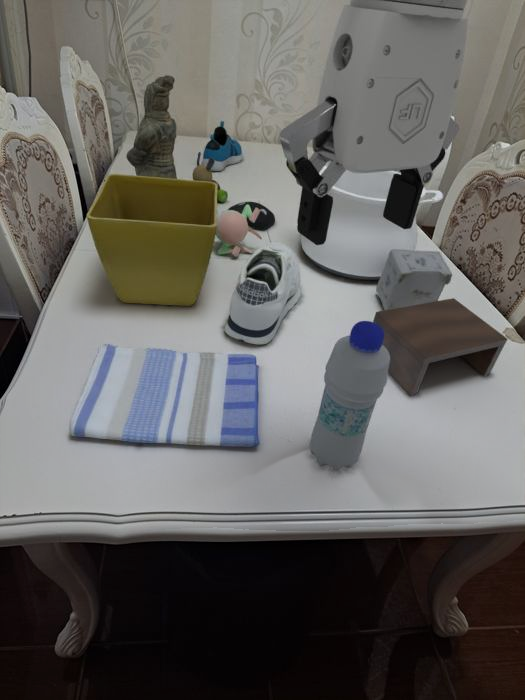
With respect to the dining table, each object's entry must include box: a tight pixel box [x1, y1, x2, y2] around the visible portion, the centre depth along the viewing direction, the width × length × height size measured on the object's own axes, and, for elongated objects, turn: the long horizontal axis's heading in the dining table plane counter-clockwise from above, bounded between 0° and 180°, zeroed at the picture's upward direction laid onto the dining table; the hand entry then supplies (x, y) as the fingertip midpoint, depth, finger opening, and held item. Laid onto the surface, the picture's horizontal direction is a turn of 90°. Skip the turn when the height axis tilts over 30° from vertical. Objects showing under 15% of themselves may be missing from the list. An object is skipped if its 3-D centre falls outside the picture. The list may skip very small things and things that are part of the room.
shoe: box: [201, 120, 243, 172], centre depth 148 cm, size 9×23×12 cm, turn 164°
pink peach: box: [215, 204, 262, 258], centre depth 102 cm, size 12×10×9 cm
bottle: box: [309, 320, 390, 472], centre depth 55 cm, size 7×7×20 cm
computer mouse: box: [227, 201, 276, 231], centre depth 116 cm, size 8×12×4 cm, turn 62°
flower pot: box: [86, 173, 218, 307], centre depth 84 cm, size 19×19×17 cm
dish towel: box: [68, 343, 260, 447], centre depth 65 cm, size 17×24×3 cm
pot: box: [299, 164, 444, 281], centre depth 101 cm, size 28×24×17 cm
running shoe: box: [224, 241, 302, 345], centre depth 85 cm, size 11×29×12 cm, turn 170°
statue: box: [125, 74, 178, 179], centre depth 102 cm, size 11×9×30 cm
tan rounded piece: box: [192, 151, 229, 203], centre depth 122 cm, size 9×9×11 cm
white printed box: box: [375, 249, 454, 311], centre depth 89 cm, size 10×8×10 cm
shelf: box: [372, 297, 508, 397], centre depth 77 cm, size 12×16×7 cm
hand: (355, 230), depth 42 cm, fingers open, 9 cm apart
